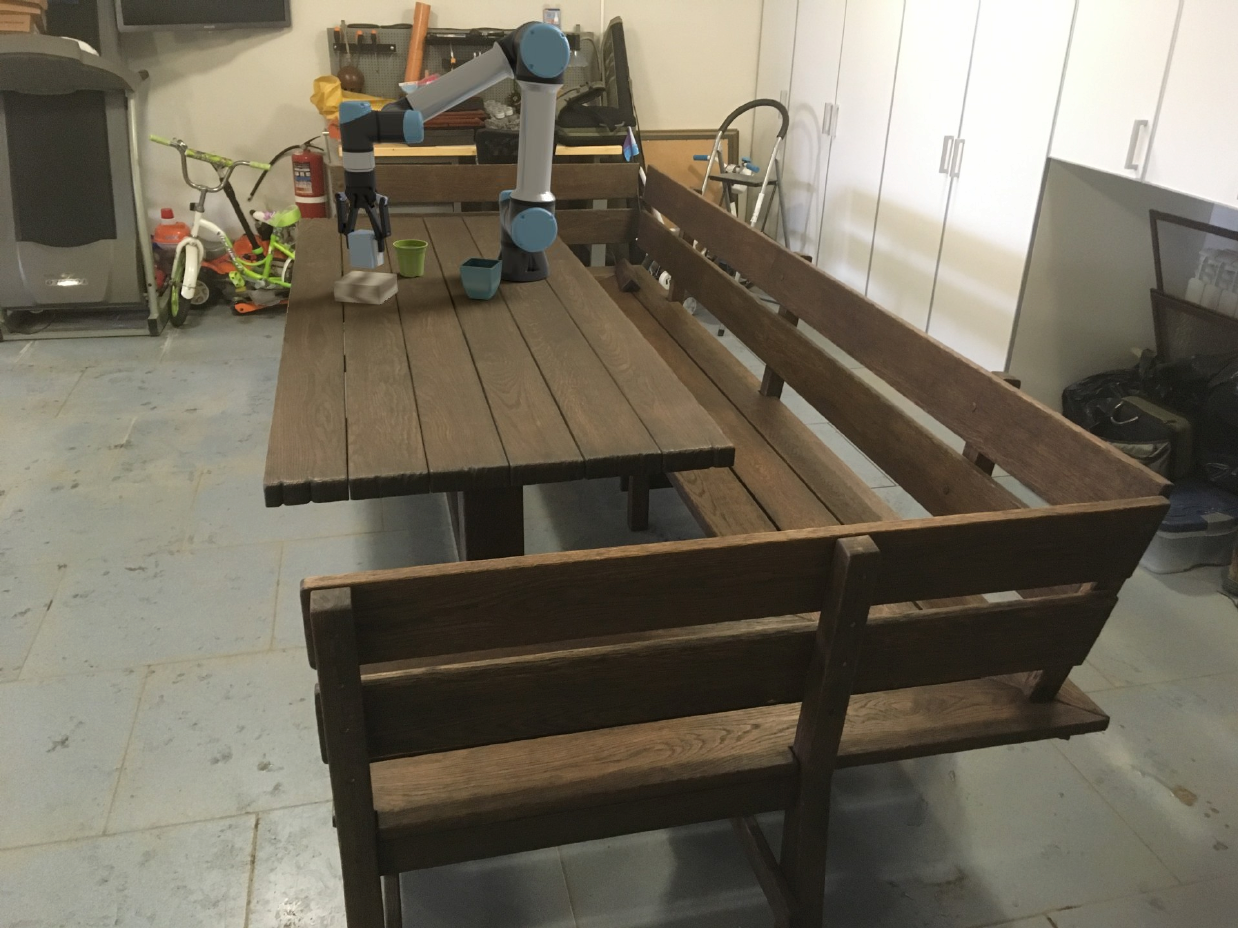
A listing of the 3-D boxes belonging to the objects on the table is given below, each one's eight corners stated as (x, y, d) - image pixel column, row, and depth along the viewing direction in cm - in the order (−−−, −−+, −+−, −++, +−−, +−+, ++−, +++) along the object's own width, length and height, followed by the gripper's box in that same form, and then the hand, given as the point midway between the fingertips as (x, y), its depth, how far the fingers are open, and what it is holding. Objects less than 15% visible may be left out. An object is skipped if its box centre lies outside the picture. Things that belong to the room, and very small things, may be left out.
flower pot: (493, 303, 250) (492, 268, 246) (459, 300, 251) (458, 265, 247) (503, 294, 258) (502, 259, 254) (471, 291, 259) (470, 257, 255)
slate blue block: (383, 263, 251) (381, 231, 248) (372, 268, 246) (369, 236, 242) (362, 260, 253) (359, 229, 249) (350, 266, 247) (347, 234, 244)
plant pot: (433, 271, 275) (431, 240, 272) (424, 280, 267) (422, 248, 263) (400, 269, 276) (398, 238, 272) (390, 278, 268) (388, 246, 264)
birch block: (397, 292, 257) (396, 273, 255) (380, 305, 246) (379, 286, 244) (354, 289, 259) (352, 270, 256) (335, 302, 248) (333, 282, 246)
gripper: (402, 169, 240) (408, 263, 250) (332, 164, 244) (340, 256, 254) (387, 174, 234) (394, 270, 244) (316, 168, 238) (325, 263, 248)
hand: (367, 263), depth 249 cm, fingers closed on slate blue block, 6 cm apart
